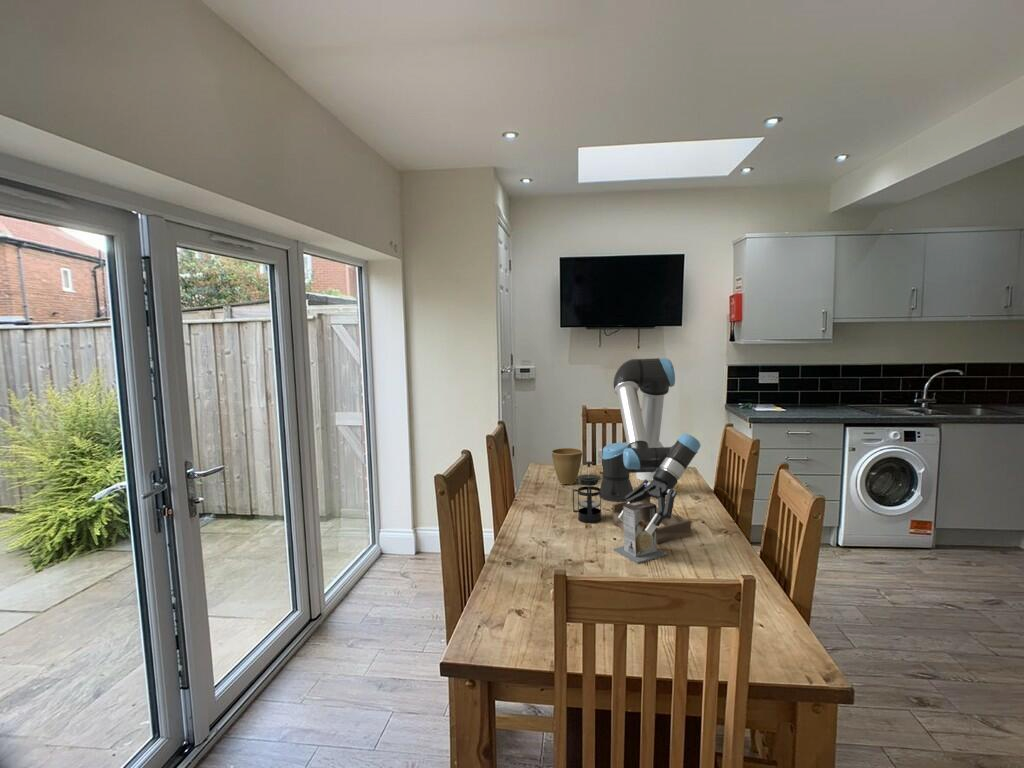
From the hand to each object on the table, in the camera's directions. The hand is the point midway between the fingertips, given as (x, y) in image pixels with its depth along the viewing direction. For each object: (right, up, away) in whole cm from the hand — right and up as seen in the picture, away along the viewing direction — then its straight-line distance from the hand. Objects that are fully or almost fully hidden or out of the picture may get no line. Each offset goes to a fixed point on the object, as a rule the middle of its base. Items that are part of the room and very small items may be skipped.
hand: (633, 526), depth 174 cm
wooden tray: (+11, -7, +22) cm, 26 cm away
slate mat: (+2, -9, +2) cm, 10 cm away
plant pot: (-13, -2, +85) cm, 86 cm away
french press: (-10, -7, +35) cm, 37 cm away
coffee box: (+3, -9, +2) cm, 10 cm away
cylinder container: (+26, 0, +89) cm, 93 cm away
